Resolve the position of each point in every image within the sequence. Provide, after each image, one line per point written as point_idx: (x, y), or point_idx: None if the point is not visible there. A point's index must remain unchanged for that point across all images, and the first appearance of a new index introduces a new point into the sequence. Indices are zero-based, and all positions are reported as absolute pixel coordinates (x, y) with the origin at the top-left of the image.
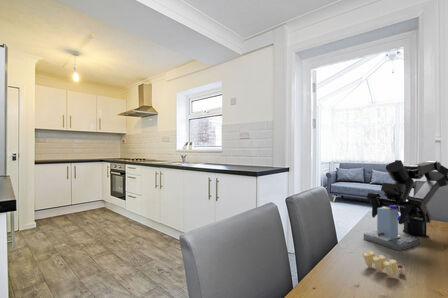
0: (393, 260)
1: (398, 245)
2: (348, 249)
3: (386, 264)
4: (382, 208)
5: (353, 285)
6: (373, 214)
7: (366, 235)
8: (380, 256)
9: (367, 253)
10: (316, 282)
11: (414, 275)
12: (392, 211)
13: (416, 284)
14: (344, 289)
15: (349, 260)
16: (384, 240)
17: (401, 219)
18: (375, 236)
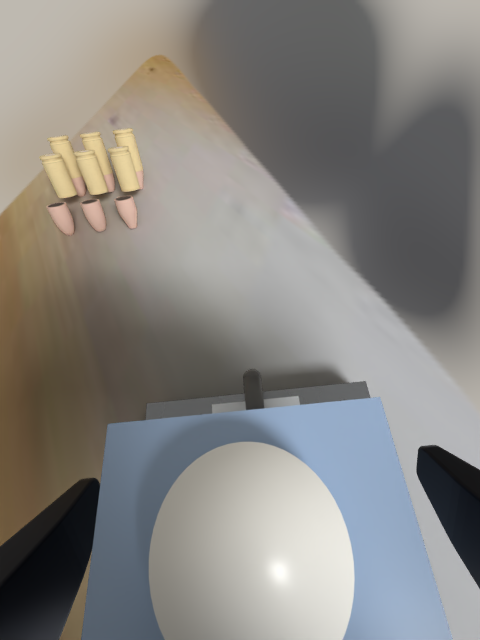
0: (47, 156)
1: (147, 408)
2: (260, 218)
3: (58, 136)
4: (311, 473)
5: (117, 116)
6: (439, 463)
7: (343, 385)
8: (86, 150)
9: (117, 130)
10: (161, 77)
11: (44, 256)
12: (107, 522)
13: (31, 219)
14: (120, 99)
15: (196, 170)
16: (226, 398)
17: (36, 521)
18: (289, 399)
